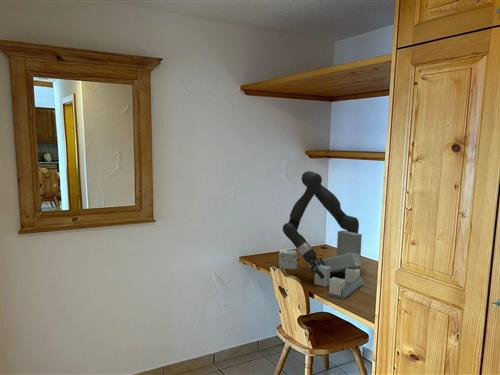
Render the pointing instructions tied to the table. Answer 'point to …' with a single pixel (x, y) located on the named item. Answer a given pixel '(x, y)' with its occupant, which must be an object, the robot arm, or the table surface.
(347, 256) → the hard drive box
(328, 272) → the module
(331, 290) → the mounted module
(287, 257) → the light bulb box
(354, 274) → the mounted module
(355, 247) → the tall upright rectangular panel
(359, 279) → the rail
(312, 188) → the robot arm
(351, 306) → the table surface
